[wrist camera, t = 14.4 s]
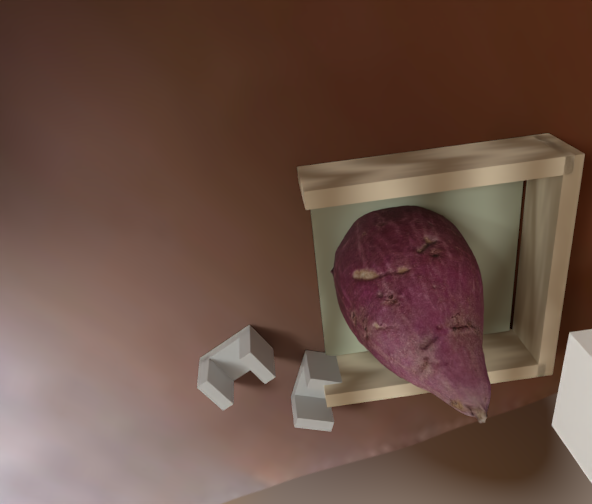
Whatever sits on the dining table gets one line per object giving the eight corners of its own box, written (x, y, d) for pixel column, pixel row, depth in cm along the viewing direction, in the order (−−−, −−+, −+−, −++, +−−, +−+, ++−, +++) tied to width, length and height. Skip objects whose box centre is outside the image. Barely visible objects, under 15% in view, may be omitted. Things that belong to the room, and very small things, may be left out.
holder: (319, 368, 45) (327, 407, 41) (296, 166, 37) (303, 191, 33) (525, 338, 46) (552, 374, 42) (548, 133, 37) (584, 153, 34)
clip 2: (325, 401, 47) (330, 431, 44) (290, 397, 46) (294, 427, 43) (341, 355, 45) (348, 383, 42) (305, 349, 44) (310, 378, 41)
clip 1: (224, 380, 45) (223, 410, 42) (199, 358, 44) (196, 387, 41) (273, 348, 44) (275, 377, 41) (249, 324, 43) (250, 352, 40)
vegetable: (461, 260, 45) (597, 404, 34) (354, 328, 46) (451, 492, 34) (424, 168, 38) (578, 309, 27) (298, 249, 39) (397, 422, 27)
